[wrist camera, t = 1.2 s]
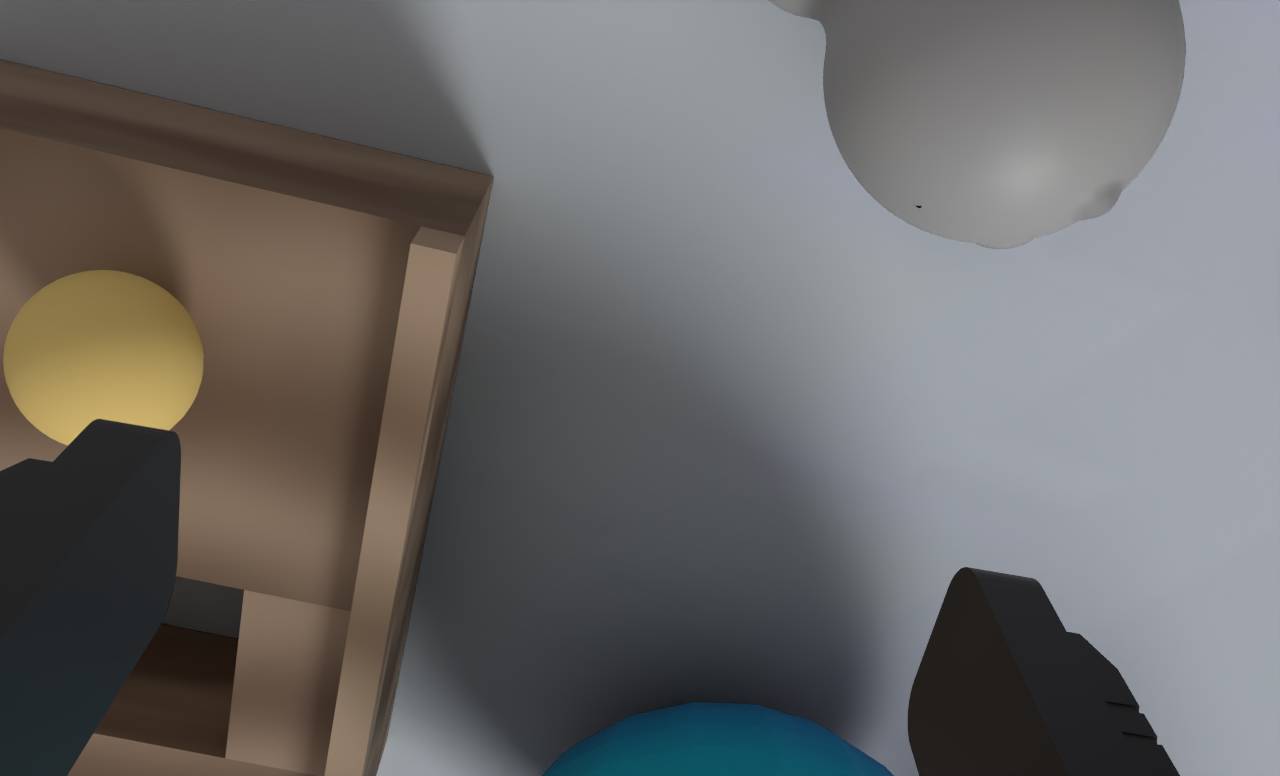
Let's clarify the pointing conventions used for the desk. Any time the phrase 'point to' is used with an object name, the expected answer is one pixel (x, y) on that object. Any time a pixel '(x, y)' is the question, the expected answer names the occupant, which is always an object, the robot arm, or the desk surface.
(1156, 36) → the round bodied animal figurine
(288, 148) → the wooden box
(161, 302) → the ball
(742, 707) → the decorative orb
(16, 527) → the robot arm
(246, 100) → the desk surface
